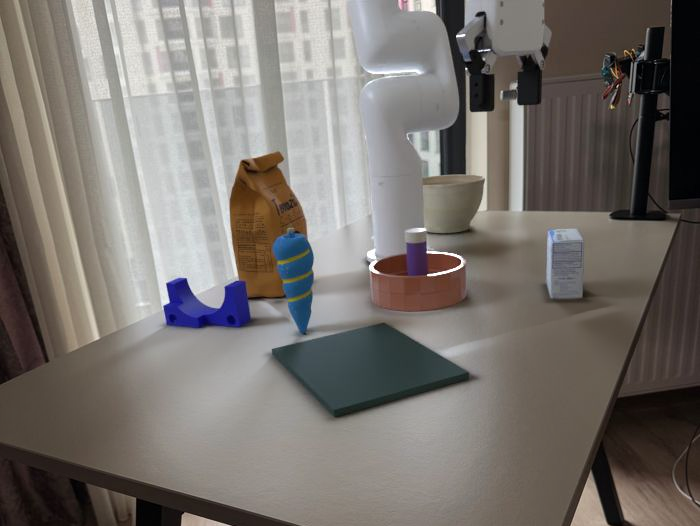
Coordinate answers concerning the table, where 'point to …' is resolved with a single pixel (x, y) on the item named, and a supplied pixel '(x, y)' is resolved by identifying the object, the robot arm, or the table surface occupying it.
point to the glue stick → (416, 251)
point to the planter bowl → (451, 201)
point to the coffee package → (262, 222)
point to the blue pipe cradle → (197, 314)
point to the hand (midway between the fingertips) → (506, 108)
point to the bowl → (418, 283)
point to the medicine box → (565, 263)
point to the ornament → (296, 274)
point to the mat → (366, 367)
